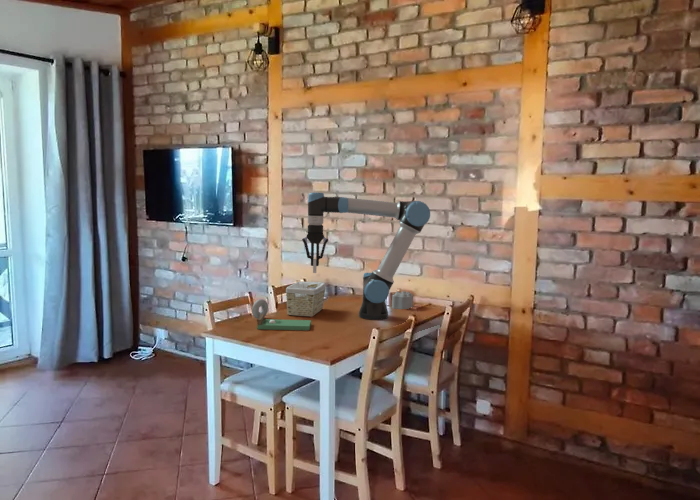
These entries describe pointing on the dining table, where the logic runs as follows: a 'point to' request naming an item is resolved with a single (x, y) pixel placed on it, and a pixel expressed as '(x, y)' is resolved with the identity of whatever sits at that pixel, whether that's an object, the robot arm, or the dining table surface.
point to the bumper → (260, 319)
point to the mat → (285, 324)
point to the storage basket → (305, 298)
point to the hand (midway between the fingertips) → (314, 272)
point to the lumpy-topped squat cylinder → (402, 300)
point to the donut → (256, 308)
